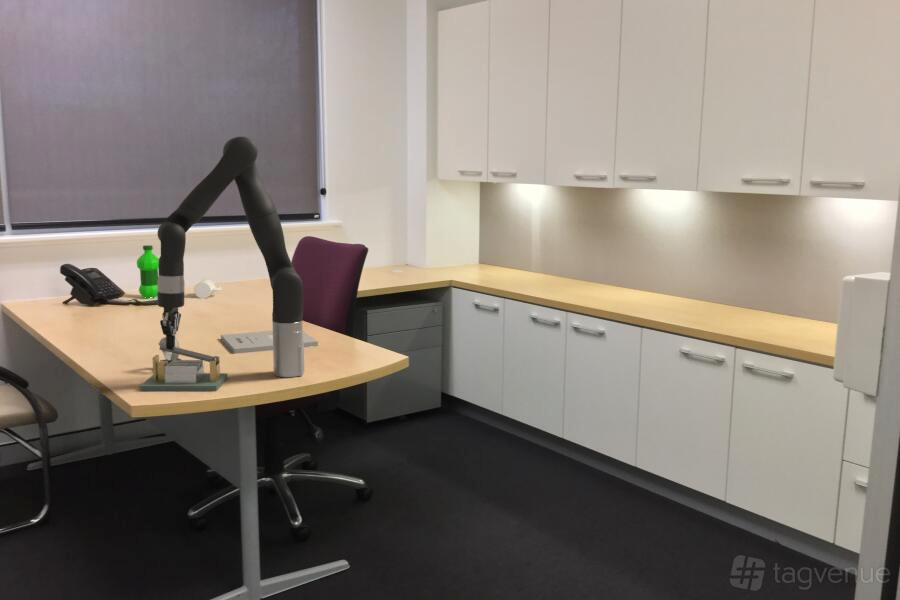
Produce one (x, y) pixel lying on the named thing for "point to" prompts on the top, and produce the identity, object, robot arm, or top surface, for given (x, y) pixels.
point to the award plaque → (257, 341)
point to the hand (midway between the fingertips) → (170, 347)
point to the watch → (168, 355)
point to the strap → (189, 353)
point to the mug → (205, 288)
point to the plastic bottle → (148, 272)
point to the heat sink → (184, 371)
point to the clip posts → (160, 366)
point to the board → (201, 385)
